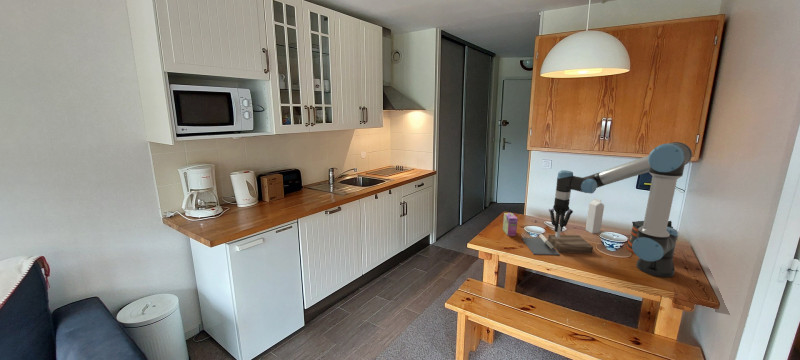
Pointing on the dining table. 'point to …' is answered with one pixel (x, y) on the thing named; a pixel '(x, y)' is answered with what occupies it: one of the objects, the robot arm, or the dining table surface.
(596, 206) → the milk
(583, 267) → the dining table surface
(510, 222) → the box
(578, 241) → the deck
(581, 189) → the robot arm
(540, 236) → the tile
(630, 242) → the beer stein
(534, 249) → the mat
